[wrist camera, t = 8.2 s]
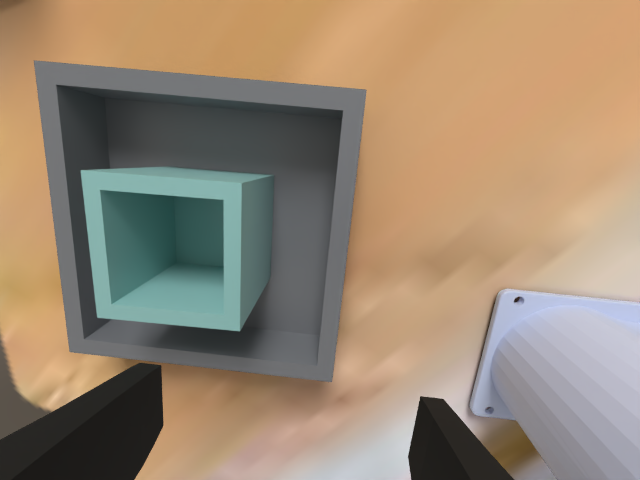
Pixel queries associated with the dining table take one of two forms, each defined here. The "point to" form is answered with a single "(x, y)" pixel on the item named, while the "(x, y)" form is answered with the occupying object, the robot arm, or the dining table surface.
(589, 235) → the dining table surface
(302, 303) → the big crate
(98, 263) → the small crate
